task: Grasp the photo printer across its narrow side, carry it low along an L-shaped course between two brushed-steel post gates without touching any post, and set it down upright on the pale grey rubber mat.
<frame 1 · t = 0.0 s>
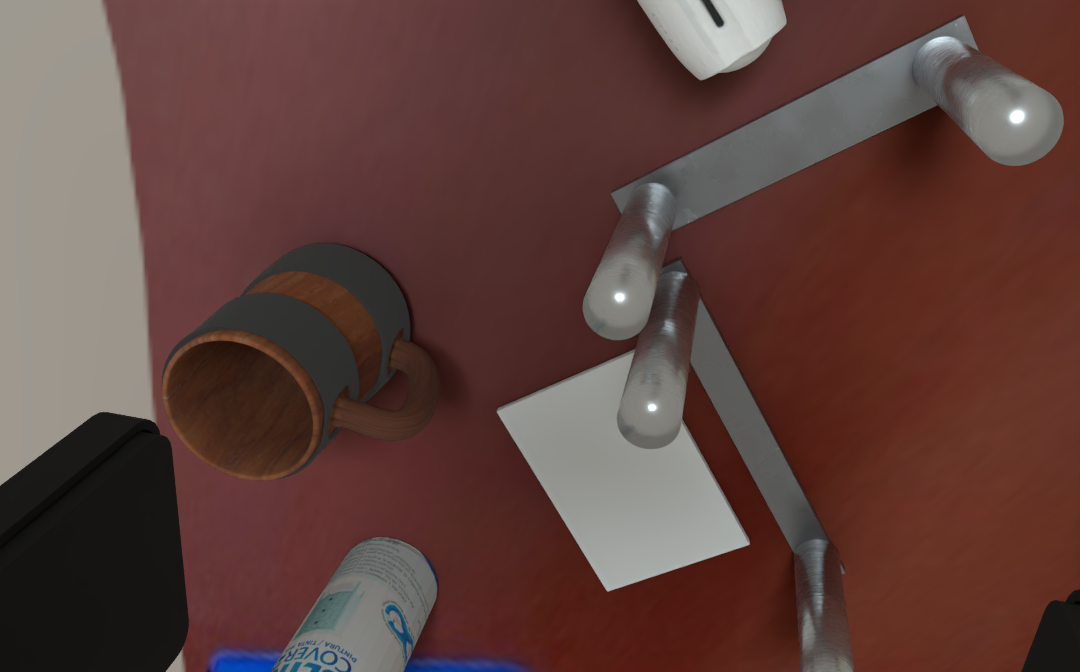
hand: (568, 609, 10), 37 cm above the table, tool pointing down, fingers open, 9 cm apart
mug: (372, 319, 52), on the table
gate a: (788, 137, 44), on the table
gate b: (749, 425, 50), on the table
mat: (623, 474, 53), on the table
spray paint can: (392, 575, 59), on the table
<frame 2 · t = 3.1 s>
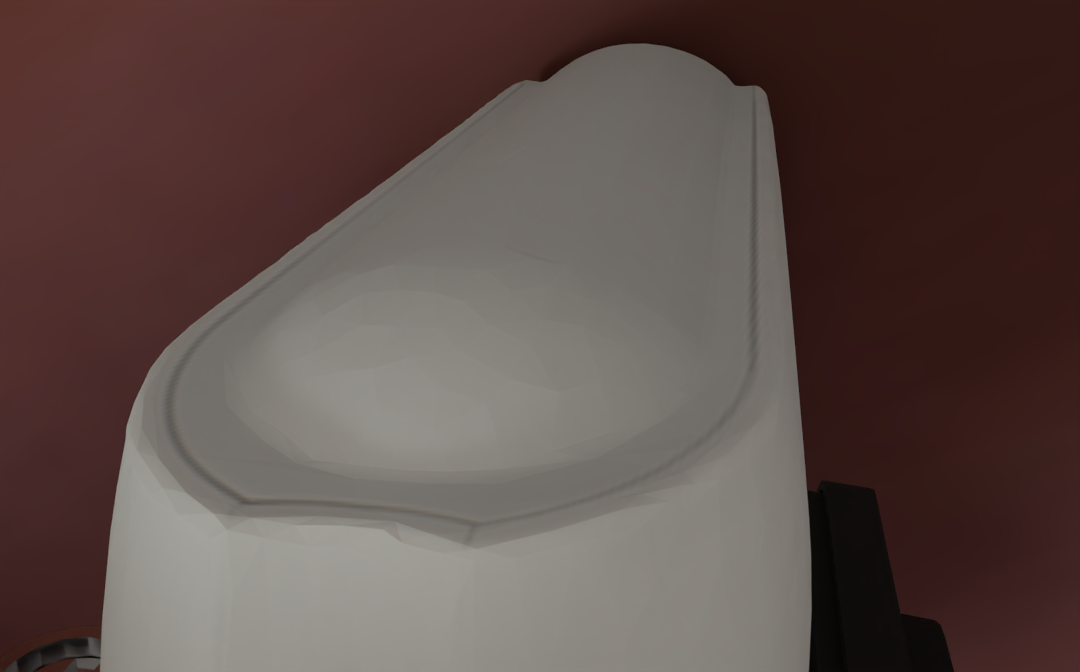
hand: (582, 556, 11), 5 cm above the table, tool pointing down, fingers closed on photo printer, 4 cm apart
photo printer: (635, 356, 16), on the table, touching gripper
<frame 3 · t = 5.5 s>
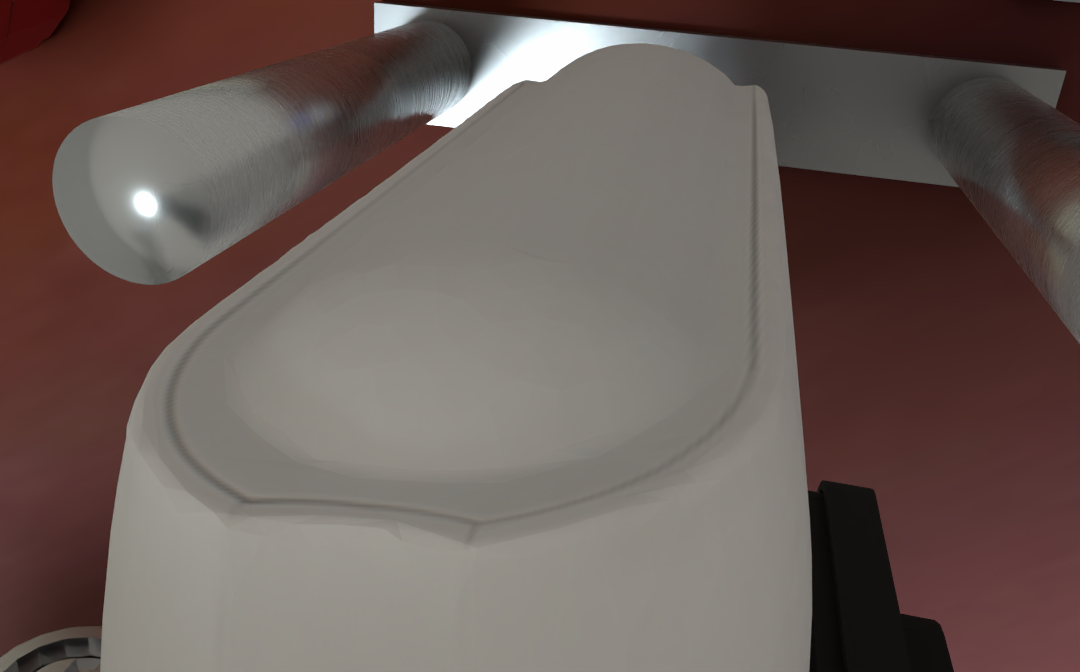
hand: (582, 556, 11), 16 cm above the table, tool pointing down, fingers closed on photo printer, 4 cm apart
gate a: (693, 92, 25), on the table
photo printer: (635, 356, 16), point 11 cm above the table, touching gripper
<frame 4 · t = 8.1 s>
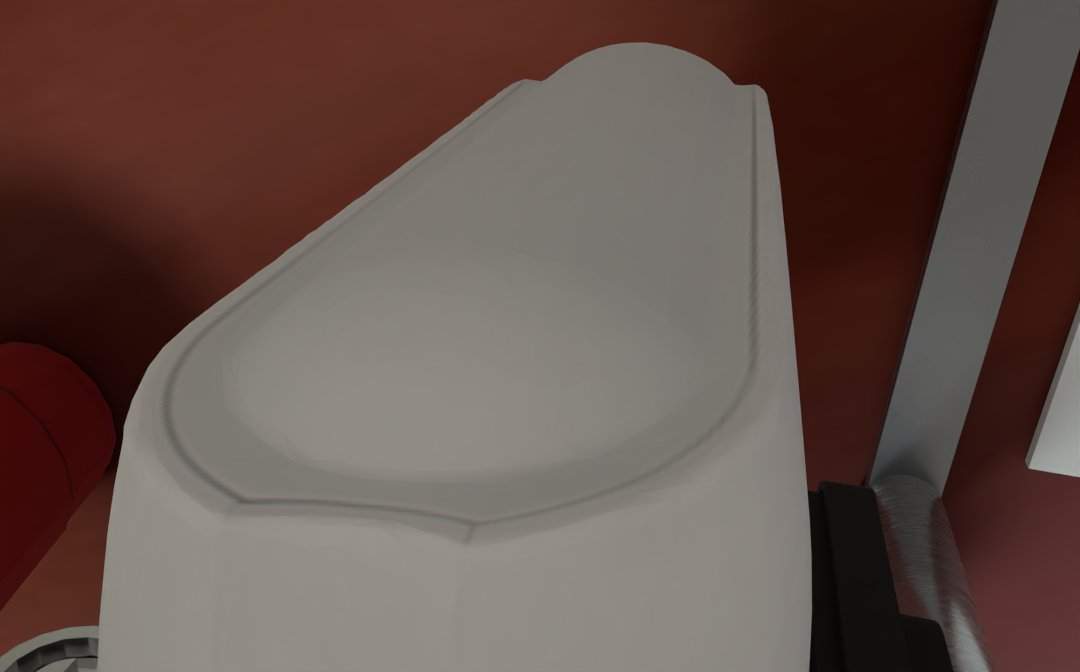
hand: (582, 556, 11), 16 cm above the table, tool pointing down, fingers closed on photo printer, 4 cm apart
plastic cup: (41, 407, 33), on the table
gate b: (974, 222, 24), on the table
photo printer: (635, 355, 16), point 11 cm above the table, touching gripper
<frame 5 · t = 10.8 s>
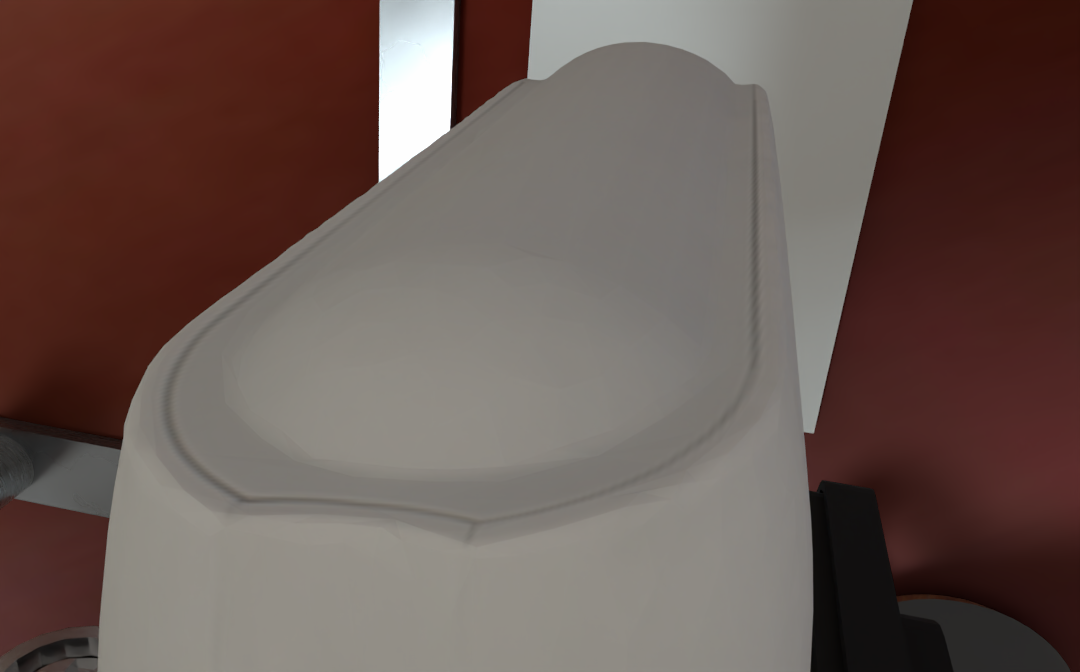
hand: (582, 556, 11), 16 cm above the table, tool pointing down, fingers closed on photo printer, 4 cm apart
mug: (889, 650, 30), on the table
gate a: (193, 488, 33), on the table
gate b: (420, 151, 27), on the table
photo printer: (635, 355, 16), point 11 cm above the table, touching gripper
mat: (688, 187, 25), on the table
when the fingers open (6 cm above the table, at t = 13.0 s): photo printer stays where it is, resting on mat.
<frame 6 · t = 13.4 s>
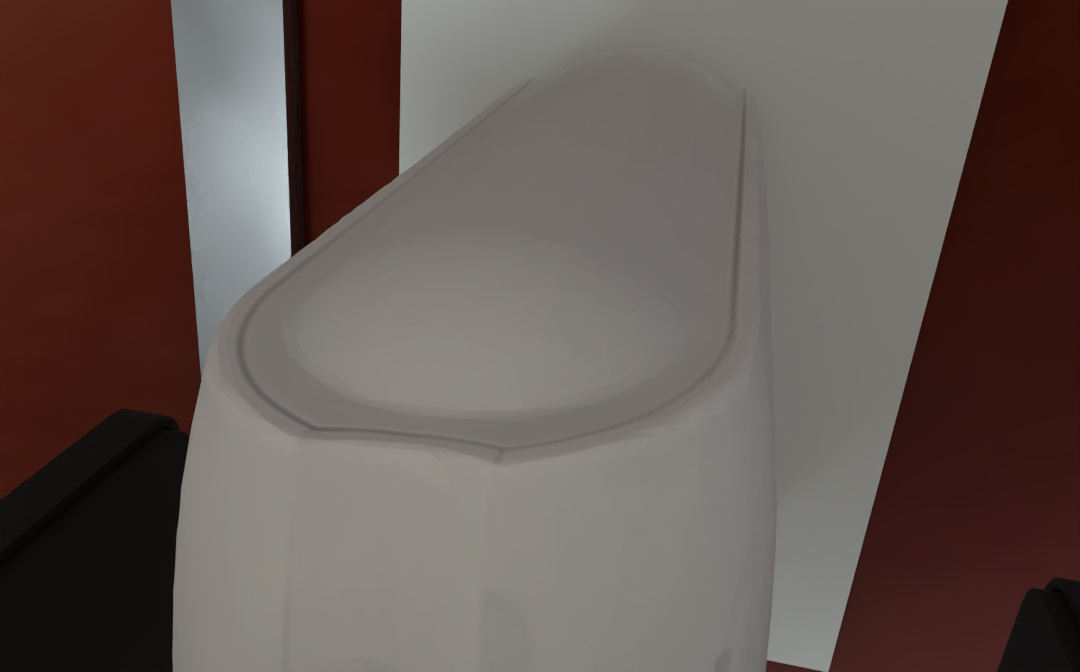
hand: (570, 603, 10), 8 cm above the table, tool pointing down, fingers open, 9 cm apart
gate b: (257, 268, 18), on the table
photo printer: (627, 341, 17), resting on mat
mat: (643, 329, 17), on the table
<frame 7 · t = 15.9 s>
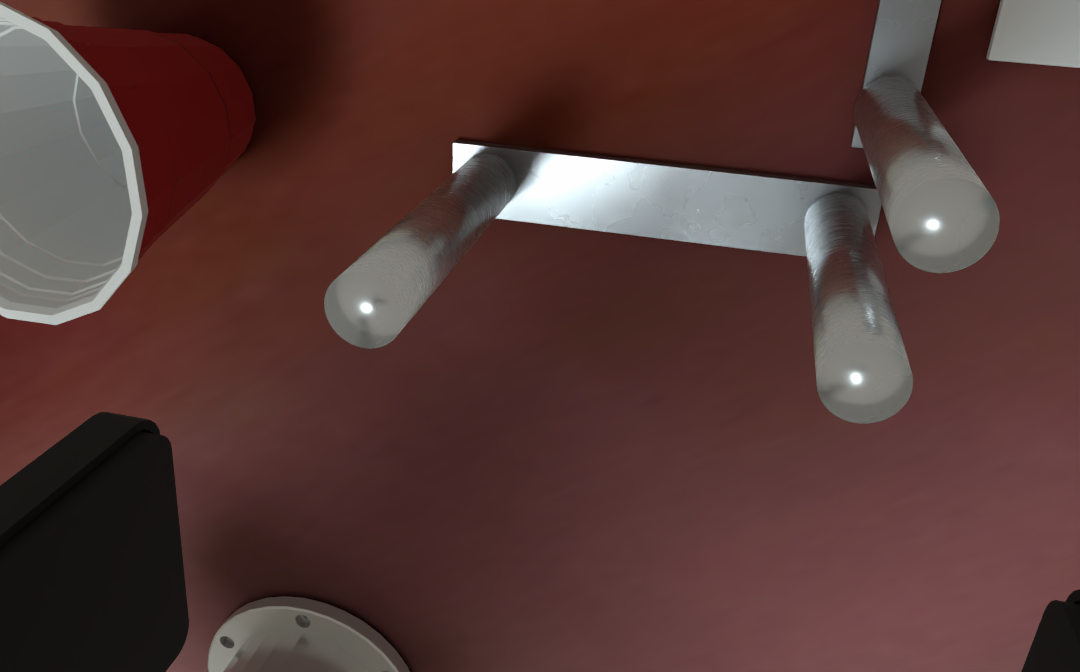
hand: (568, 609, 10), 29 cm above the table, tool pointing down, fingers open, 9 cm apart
plastic cup: (194, 98, 41), on the table
gate a: (657, 197, 39), on the table
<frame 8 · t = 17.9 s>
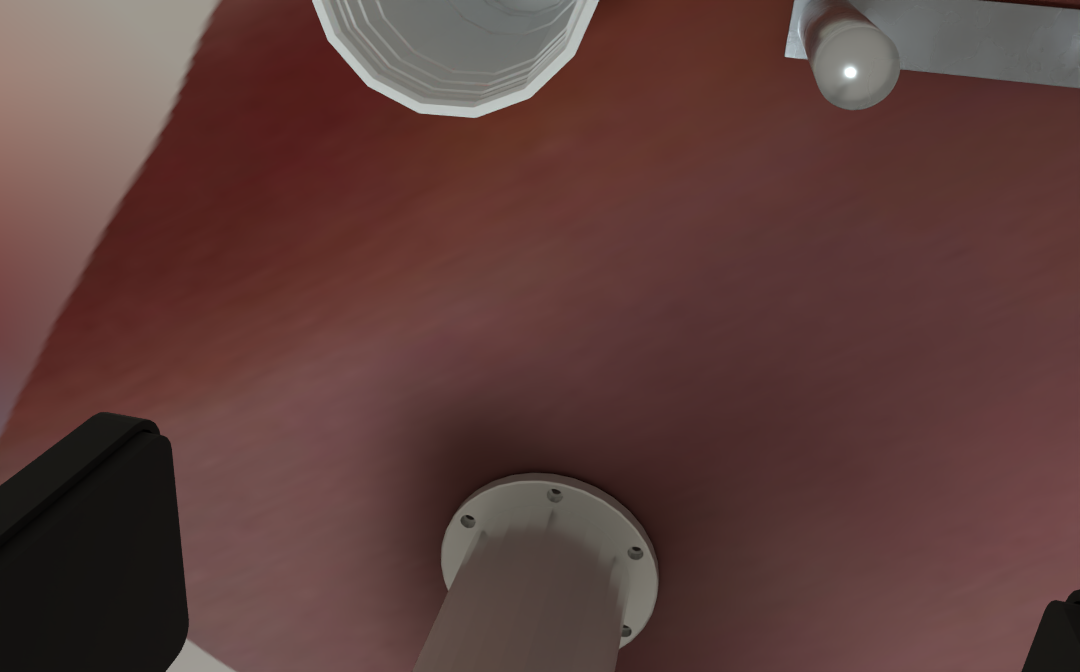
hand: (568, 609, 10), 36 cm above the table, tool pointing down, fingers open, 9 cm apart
gate a: (997, 39, 40), on the table
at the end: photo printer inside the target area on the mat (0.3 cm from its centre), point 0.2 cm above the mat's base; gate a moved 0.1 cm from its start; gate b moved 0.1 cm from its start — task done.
